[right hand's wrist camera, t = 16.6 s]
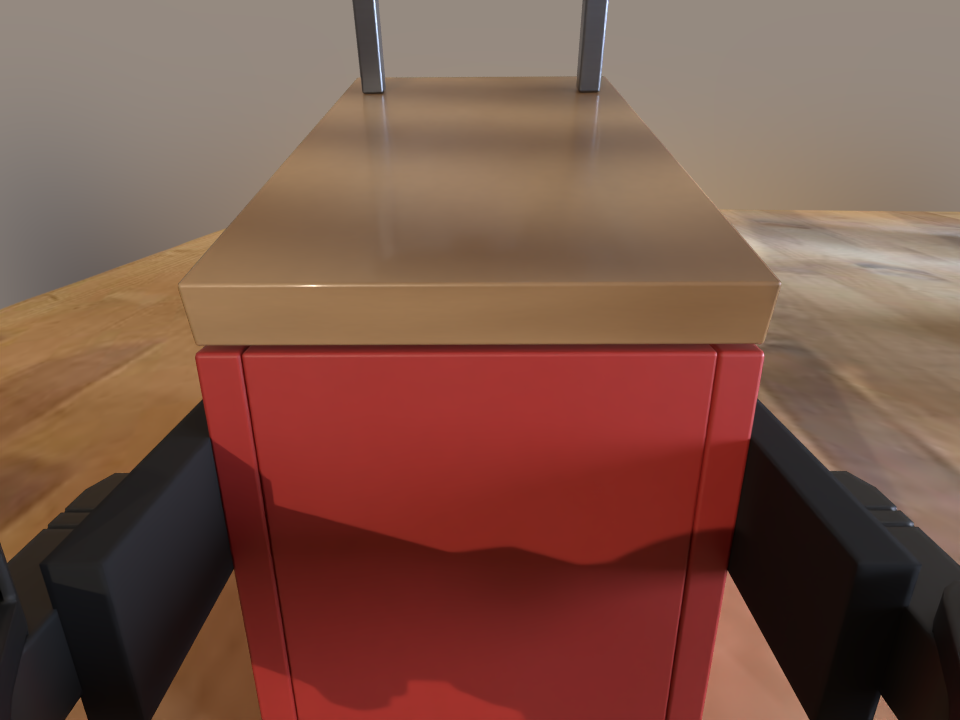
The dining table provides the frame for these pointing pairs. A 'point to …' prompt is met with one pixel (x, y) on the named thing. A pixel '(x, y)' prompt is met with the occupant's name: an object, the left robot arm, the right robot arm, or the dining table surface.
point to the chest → (480, 524)
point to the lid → (480, 223)
